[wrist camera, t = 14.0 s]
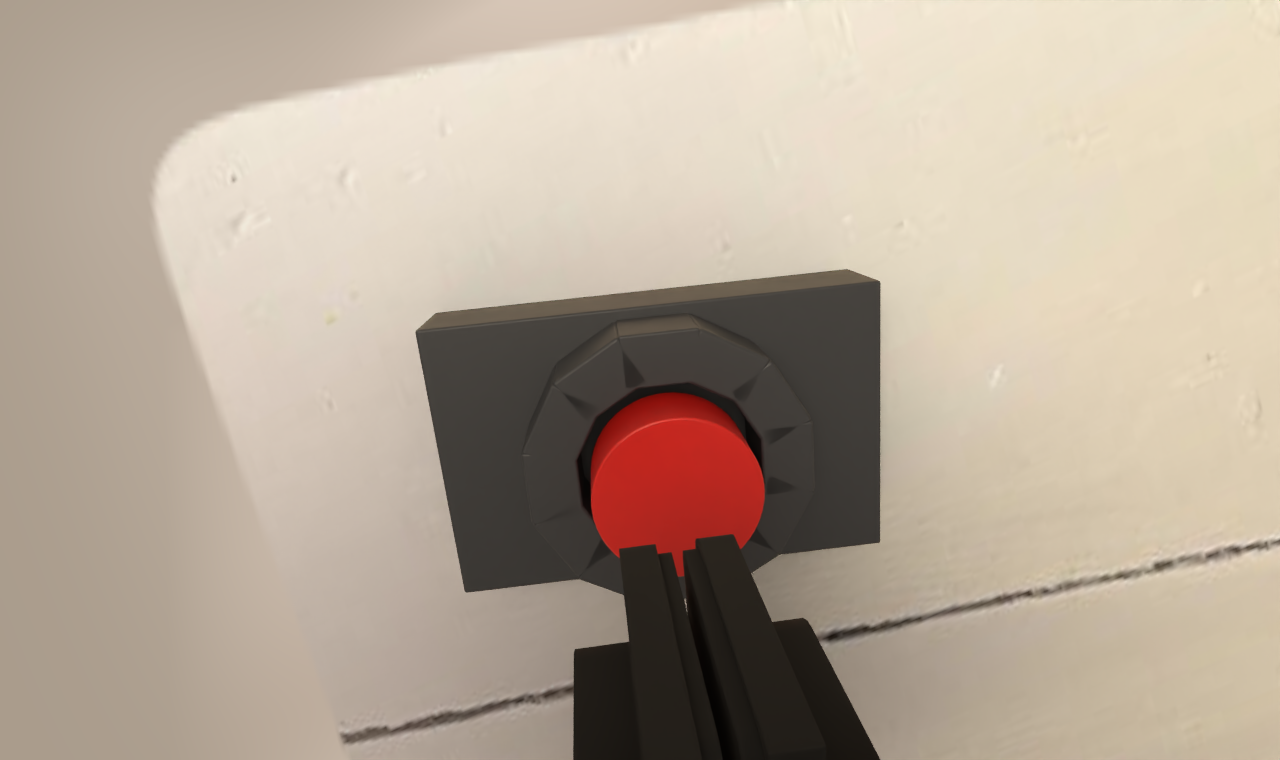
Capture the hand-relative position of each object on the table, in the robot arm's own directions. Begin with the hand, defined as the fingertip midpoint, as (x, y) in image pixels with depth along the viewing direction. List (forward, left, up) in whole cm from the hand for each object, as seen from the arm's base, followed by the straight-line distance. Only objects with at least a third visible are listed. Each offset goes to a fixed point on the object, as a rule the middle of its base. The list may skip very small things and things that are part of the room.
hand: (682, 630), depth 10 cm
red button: (0, 0, -6) cm, 6 cm away
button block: (0, 0, -10) cm, 10 cm away
